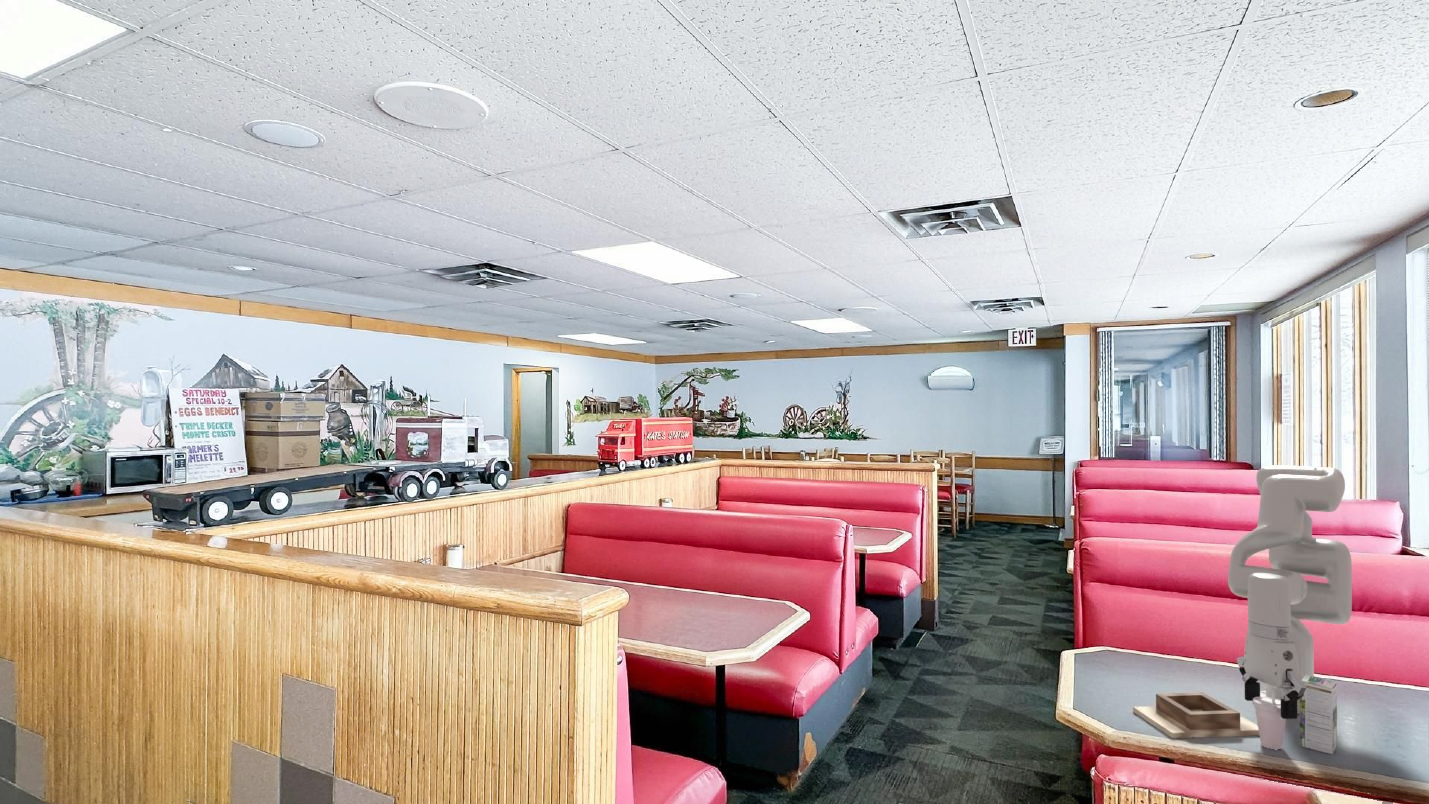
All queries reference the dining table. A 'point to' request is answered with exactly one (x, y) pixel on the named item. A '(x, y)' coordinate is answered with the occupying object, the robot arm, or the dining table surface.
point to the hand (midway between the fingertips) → (1270, 709)
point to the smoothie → (1270, 721)
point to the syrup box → (1319, 715)
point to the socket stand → (1195, 717)
